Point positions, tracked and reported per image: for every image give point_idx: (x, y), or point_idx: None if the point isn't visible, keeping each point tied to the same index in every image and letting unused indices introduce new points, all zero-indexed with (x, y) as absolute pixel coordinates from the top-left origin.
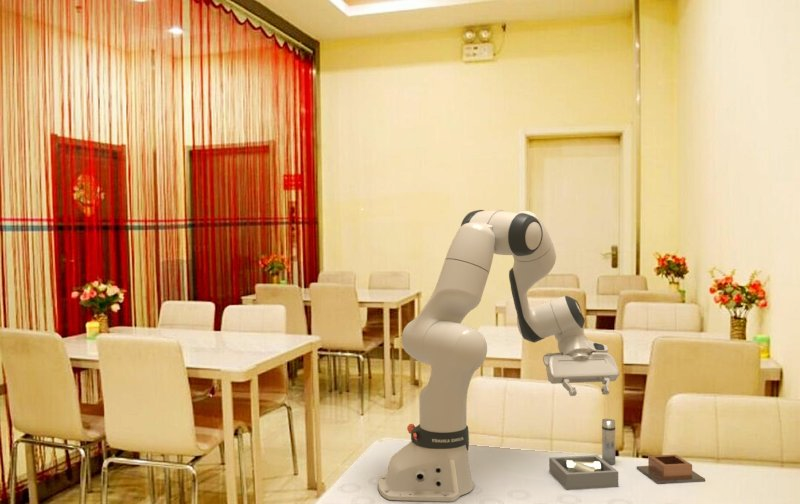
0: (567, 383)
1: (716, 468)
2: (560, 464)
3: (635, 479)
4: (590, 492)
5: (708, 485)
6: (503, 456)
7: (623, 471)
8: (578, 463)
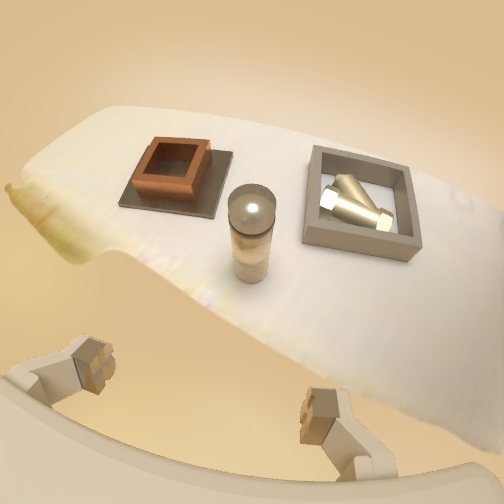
0: (372, 443)
1: (82, 186)
2: (409, 206)
3: (256, 178)
4: None
5: None
6: (463, 372)
7: None
8: (370, 204)
